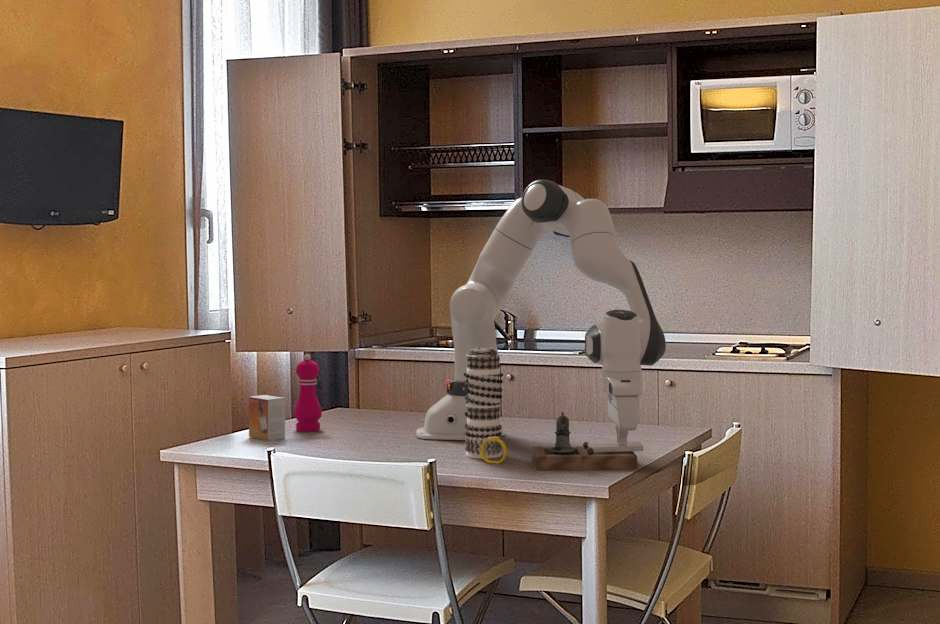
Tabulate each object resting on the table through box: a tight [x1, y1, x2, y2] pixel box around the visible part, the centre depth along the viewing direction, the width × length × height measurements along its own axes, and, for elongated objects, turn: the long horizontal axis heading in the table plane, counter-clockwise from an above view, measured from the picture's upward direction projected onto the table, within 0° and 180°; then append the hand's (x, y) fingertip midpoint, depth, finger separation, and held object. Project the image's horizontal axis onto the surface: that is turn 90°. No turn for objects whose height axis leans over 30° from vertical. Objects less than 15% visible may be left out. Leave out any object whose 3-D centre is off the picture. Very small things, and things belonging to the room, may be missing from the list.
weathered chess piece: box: [549, 411, 576, 455], centre depth 268 cm, size 6×6×12 cm
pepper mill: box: [293, 353, 323, 433], centre depth 317 cm, size 7×7×20 cm
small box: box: [248, 394, 286, 442], centre depth 305 cm, size 8×6×10 cm
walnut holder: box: [532, 441, 638, 471], centre depth 270 cm, size 22×12×4 cm, turn 91°
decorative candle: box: [464, 348, 504, 460], centre depth 281 cm, size 9×9×25 cm
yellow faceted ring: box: [481, 436, 508, 464], centre depth 272 cm, size 6×3×6 cm, turn 66°
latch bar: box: [587, 441, 644, 453], centre depth 270 cm, size 12×5×1 cm, turn 91°
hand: (621, 444), depth 270 cm, fingers closed, pressing on latch bar
